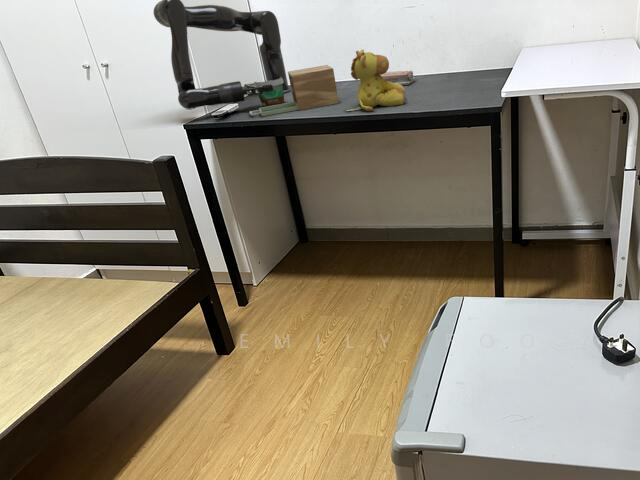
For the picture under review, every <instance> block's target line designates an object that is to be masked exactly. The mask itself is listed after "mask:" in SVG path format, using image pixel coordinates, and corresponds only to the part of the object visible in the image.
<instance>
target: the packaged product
mask: <svg viewBox="0 0 640 480" xmlns="http://www.w3.org/2000/svg"><path fill="white" fill-rule="evenodd" d="M380 75H381V76H382V78H383V79H385V80H387V81H390V82H392V83H397V84H400V85H402V86H409V85H410V84H412V83H413V82H415V81H416V77H415V76H414V71H413V70H400V71H387V72H386V73H384V74H380Z"/></svg>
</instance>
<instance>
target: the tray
mask: <svg viewBox="0 0 640 480" xmlns="http://www.w3.org/2000/svg"><path fill="white" fill-rule="evenodd" d="M294 111H299V110H298V105H297V103H296V102H294V101H291V102H285V103H284V104H279V105H273V106H268V107H262V106H261V107H258V109H256V110H250V111H249V115H250V116H251V117H253V116H257V115H260V116H261V117H266V116H271V115H277V114H282V113H283V114H284V113H289V112H294Z"/></svg>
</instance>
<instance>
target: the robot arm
mask: <svg viewBox="0 0 640 480" xmlns="http://www.w3.org/2000/svg"><path fill="white" fill-rule="evenodd" d="M152 12H153V17H154V19H155V20H156V22H157V23H158V24H160V26H163V27H165V28H169V29H170V35H171V49H170V50H171V52H170V61H171V68H172V72H173V73H172V74H173V78H174V81H175V84H176V86H177V92H178V96H177V101H178V103H179V105H180V106H181V107H182V108H183V109H185V110H187V111H194V110H195V109H197V108H201V107H206V106H208V107H211V106H219V105H228V104H233V103H241V102H244V101H245V100H246V98H245V96H247V97H251V96H257V95H258V94H263V93H264V92H267V91H272V90H273V86H272V85H265V86H258V85H254V84H255V83H254V82H252V83H246V84H243V86H242V83H241V81H239V80H238V81H237V80H236V81H232V82H231V81H230V82H225V83H221V84H218V85H212V86H207V87H203V88H202V87H201V88H196V85H195V79H194V73H193V68H192V63H191V58H190V50H189V39H188V37H189V36H188V28H195V29H201V30H209V31H216V32H246V33H249V34H250V33H251V34H255V35H259V36H261V38H262V42H261V44H260V45H259V47H258V50H259V53H260V58H261V63H262V67H263V72H264V77H265V81H269V80H276V79H279V78H281V77H282V79H283V81H284V83H282V84H283V93H284V94H285V93H289V92H290V90H291V89H290V87H289V86H290V85H289V80H288V77H287V72H286V67H285V63H284V57H283V53H282V47H281V44H282V37H281V33H280V25H279V21H278V18H277V16H276V15H275V13H274V12H272V11H271V10H259V11H258V10H257V11H240V10H236V9H234V8H231V7H228V6H224V5H217V4H202V5H194V6H185V4H184V3H183V1H181V0H160V1H158V2H157V3H156V4H155V5H154V8H153V11H152Z"/></svg>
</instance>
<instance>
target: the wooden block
mask: <svg viewBox="0 0 640 480" xmlns="http://www.w3.org/2000/svg"><path fill="white" fill-rule="evenodd" d="M287 75H288V81H289V86H290V90H291V95H292V99H293V102H296V103H297V105H298V110H297V111H303V110H308V109H315V108H321V107H326V106H332V105H338V104H340V103H339V102H340V101H339V95H338V89H337V83H336V76H335V72H334V68H333V67H332V66H330V65H329V64H325V65H319V66H313V67H307V68H301V69H295V70H289V71H287Z"/></svg>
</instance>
